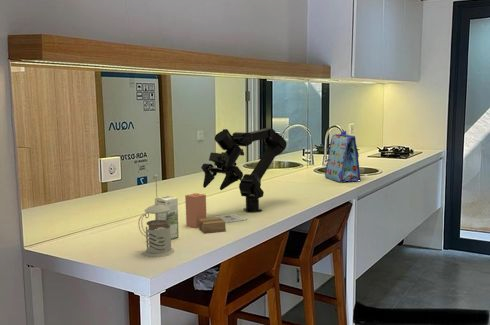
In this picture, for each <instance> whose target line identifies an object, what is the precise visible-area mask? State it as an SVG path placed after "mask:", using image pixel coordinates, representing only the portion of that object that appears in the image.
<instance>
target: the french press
mask: <svg viewBox="0 0 490 325" xmlns="http://www.w3.org/2000/svg"><path fill="white" fill-rule="evenodd" d="M152 178H153V179H155V187H156V188H155V190H156V191H155V195H156V197H158V189H157V188H158V185H157V179H159V178H160V176H159V175H158V174H154V175H152ZM169 211H170V208H168V207H167V206H164V205H159V204H156V205H155V204H152V205H150V206H148V207H146V209H144V213H143V214H142V215H141V216H140V217H139V219H138V225H140V220H141V227H142V230H143V232H144V233H145V234H144V233H143V232H142V230H141V227H140V226H138V230H139V232H140V233H141V234H142V235H143V236H144V237H145V239H146V240H145V241H146V250H144V252H143V255H145V256H147V257H151V258H153V257H154V258H157V257H158V258H160V257H166V256H171V255H172V254H174V253H175V252H176V251H175V250H174V248H172V239H171V231H170V225H167V224H169V221H167V220H160V219H159V220H155V219H153V220H149V221H147V222H146V225H147V226H145V229H144V226H143V219H144V217H145V218H146V219H149V217H150V215H151V214H153V215H155V214H157V219H158V214H162V213H167V212H169ZM147 215H148V216H147ZM160 227H163V228H166V229H160V230H156V229H157V228H160ZM163 236H164V237H163ZM156 237H159V238H156Z"/></svg>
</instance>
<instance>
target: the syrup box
mask: <svg viewBox="0 0 490 325" xmlns="http://www.w3.org/2000/svg"><path fill="white" fill-rule="evenodd" d="M178 200H179V199H178V198H177V197H175V196H171V195H166V196H162V197H161V196H160V197H156V198H154V205H156V204H159V205H164V206H167V207H168V208H170V211H169V212H167V213H162V214H158V219H157V214H154V216H155V217H154V218H155V219H154V220H159V219H160V220H167V221H169V224H167V225H170V231H171V240H174V239H178V238H179V202H178ZM160 229H166V228H163V227H160V228H157V229H155V230H160ZM163 237H164V236H163ZM155 238H159V237H155Z"/></svg>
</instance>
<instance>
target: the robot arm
mask: <svg viewBox="0 0 490 325" xmlns="http://www.w3.org/2000/svg"><path fill="white" fill-rule="evenodd" d="M260 140H263V141H264V144H265V151H264V153H263V155H262V156H261V157H260V160H259V161H258V162H257V164H256V165H255V167H254V169H253V170H252V172H251V173H243V171H242V170H241V169H240V168H239V167H238V166H237V163H236V162H237V160H238V158H240V156H242V157H243V156H245V151H244V149H243V148H241V147H248V146H250V145H252V143H253V142H256V141H260ZM214 141H215V143H216V144H217V145H218V146H219V148H221V150H223V151H222V152H210V154H209V157H208V161H210V162H212V163H213V164H214V165H213V164H212V163H206V162H205V163H203V164H202V165H201V170H202V171H203V174H204V179H203V183H202V187H203V188H204V189H205V188H207V187H208V186H209V185H210V184H211V183H212V182H213V181H214V179H215V177H216V176H217V175H218V174H223V175H225V177H224V178H223V179H222V182H221V184H220V185H219V190H220V191H222V190H224V189H226V188H227V187H229V186H231V185H232V184H234V183H235V182H238V181H239V184H238V187H239V192H240V196H241V197H245V207H244V208H243V211H244V212H246V213H256V212H262V211H263V209H261V208H260V199H261V198H263V197H264V190H263V189H262V188H261V186H262V183H261V182H262V181H261V180H262V178H263V176H264V175H265V174H266V172H267V170H268V169H269V167H270V166H271V164H272V163H273V161H274V160H275V159H276V157H277V156H279V155H281V154H282V153H283V152H284V151H285V150H286V148H287V144H288V143H287V141H286V139H285V138H284V137H283V136H282V135H281V134H280V133H277V132H276V131H275V129H273V128H271V127H270V128H268V127H267V128H266V127H264V128H262V129H258V130H253V131H250V132H249V131H248V132H237V131H236V132H233V133H232V134H231V132H230V131H229V129H227V128H225V129H224V128H223V130H221V131H219V132H218V133H217V134H215V136H214ZM215 166H216V167H215Z"/></svg>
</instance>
